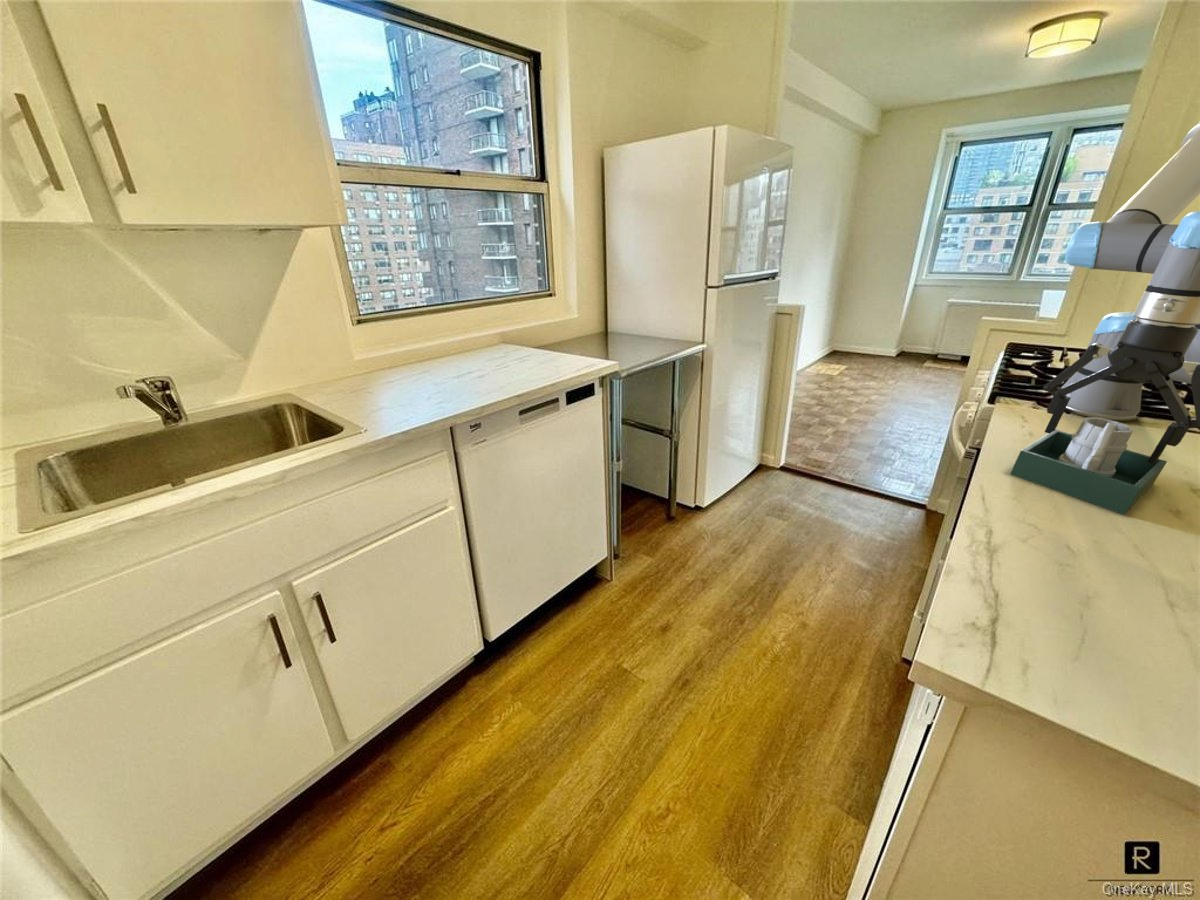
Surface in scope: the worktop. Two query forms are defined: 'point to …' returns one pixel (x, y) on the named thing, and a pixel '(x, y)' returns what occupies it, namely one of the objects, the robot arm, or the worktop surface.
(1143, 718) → the worktop surface
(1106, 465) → the mug
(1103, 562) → the worktop surface
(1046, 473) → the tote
